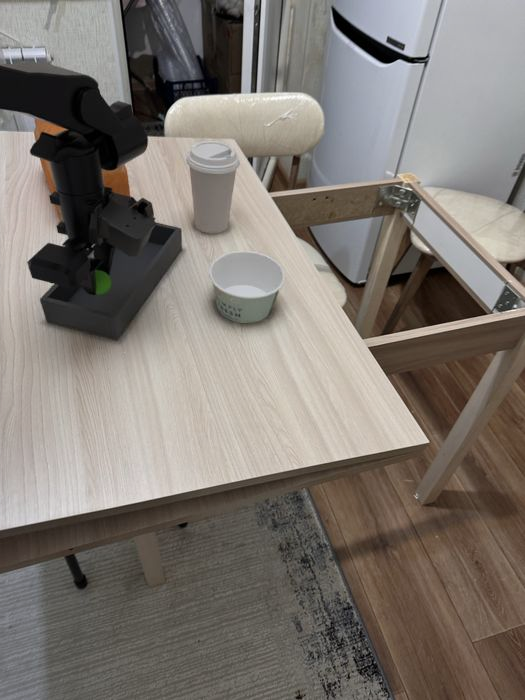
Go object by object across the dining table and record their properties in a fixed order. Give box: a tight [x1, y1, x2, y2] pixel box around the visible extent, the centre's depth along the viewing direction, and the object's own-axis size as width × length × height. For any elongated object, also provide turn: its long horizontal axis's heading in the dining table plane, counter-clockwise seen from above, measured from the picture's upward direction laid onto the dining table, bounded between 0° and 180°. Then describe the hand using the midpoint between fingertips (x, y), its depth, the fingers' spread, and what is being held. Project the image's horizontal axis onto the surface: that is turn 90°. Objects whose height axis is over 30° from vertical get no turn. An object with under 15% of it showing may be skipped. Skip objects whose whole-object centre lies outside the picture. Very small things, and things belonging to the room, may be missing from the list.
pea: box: [95, 270, 111, 295], centre depth 69 cm, size 4×4×4 cm
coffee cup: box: [185, 140, 241, 235], centre depth 91 cm, size 10×10×15 cm
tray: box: [39, 222, 183, 342], centre depth 80 cm, size 12×26×4 cm, turn 165°
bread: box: [33, 118, 131, 222], centre depth 94 cm, size 14×26×16 cm, turn 25°
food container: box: [208, 250, 286, 324], centre depth 78 cm, size 12×12×6 cm
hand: (98, 286), depth 70 cm, fingers closed on pea, 3 cm apart
